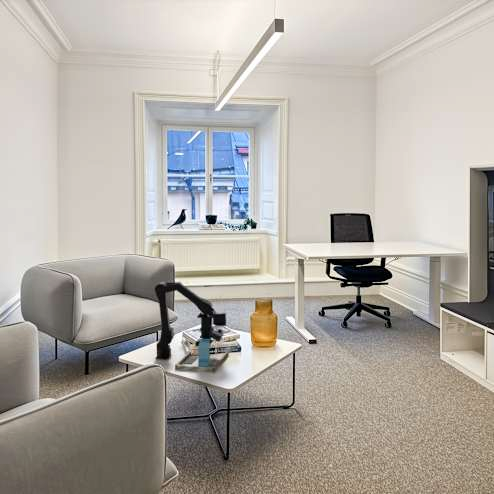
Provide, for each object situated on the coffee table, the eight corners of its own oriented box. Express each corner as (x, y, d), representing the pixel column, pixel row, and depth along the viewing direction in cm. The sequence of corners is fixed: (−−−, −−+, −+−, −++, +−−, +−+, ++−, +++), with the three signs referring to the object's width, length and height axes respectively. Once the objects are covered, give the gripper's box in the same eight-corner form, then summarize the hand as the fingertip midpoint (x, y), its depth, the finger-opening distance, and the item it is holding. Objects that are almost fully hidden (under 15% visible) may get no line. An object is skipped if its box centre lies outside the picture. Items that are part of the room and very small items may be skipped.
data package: (207, 369, 229) (207, 345, 228) (198, 369, 229) (198, 345, 228) (209, 360, 241) (209, 338, 239) (200, 360, 241) (201, 337, 240)
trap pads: (183, 363, 237) (183, 362, 236) (189, 357, 245) (189, 356, 245) (216, 366, 233) (216, 365, 233) (221, 360, 241) (221, 359, 241)
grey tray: (175, 369, 229) (175, 365, 229) (192, 351, 254) (192, 348, 254) (214, 372, 225) (214, 368, 224) (228, 354, 250) (228, 351, 250)
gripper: (216, 332, 233) (216, 362, 235) (226, 322, 251) (226, 350, 253) (195, 330, 235) (195, 360, 237) (206, 320, 253) (206, 348, 255)
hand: (206, 354), depth 245 cm, fingers closed
